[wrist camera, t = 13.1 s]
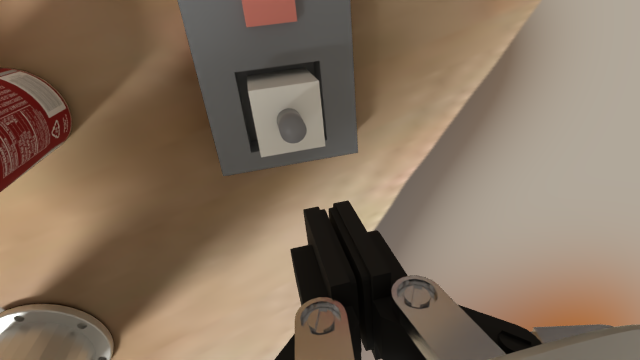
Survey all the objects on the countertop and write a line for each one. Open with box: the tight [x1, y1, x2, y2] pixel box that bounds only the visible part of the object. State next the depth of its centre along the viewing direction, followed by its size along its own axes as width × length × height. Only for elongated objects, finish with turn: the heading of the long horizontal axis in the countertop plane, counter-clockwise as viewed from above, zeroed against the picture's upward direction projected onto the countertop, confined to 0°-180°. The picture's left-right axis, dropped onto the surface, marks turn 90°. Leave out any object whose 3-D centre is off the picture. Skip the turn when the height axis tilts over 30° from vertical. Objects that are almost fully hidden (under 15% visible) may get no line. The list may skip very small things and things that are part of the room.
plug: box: [247, 68, 325, 157], centre depth 27 cm, size 5×5×8 cm
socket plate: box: [178, 0, 358, 176], centre depth 28 cm, size 16×12×4 cm
